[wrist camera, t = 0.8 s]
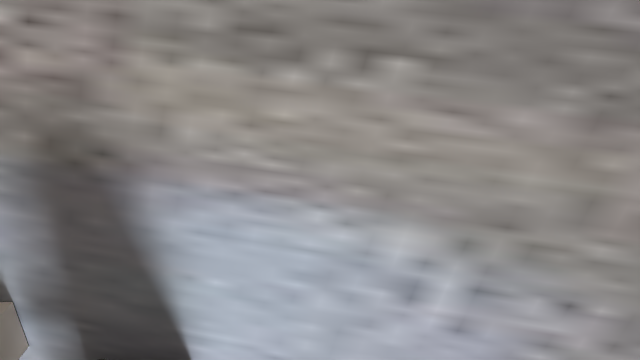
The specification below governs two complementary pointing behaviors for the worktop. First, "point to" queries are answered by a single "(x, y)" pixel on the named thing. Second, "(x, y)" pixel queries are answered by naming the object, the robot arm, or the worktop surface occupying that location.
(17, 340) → the socket
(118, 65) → the worktop surface
